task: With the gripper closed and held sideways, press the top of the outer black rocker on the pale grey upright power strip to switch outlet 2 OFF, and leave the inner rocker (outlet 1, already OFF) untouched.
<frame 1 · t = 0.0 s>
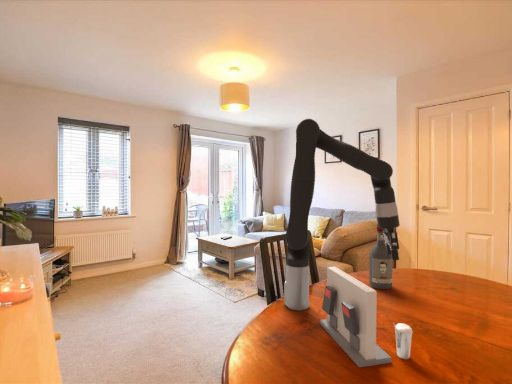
hand: (393, 257, 109), 22 cm above the table, tool pointing down, fingers open, 8 cm apart
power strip: (348, 341, 92), on the table
liquor: (380, 286, 141), on the table
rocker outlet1: (329, 300, 97), point 11 cm above the table, hinge at 10.0°
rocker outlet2: (349, 317, 85), point 11 cm above the table, hinge at -10.0°
milkshake: (401, 356, 84), on the table
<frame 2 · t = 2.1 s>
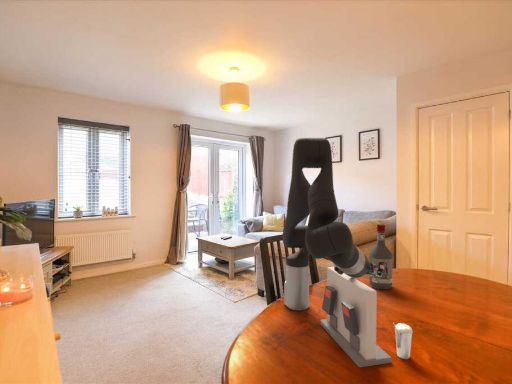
hand: (366, 275, 90), 22 cm above the table, tool tilted 60°, fingers open, 8 cm apart
nothing on the table moved.
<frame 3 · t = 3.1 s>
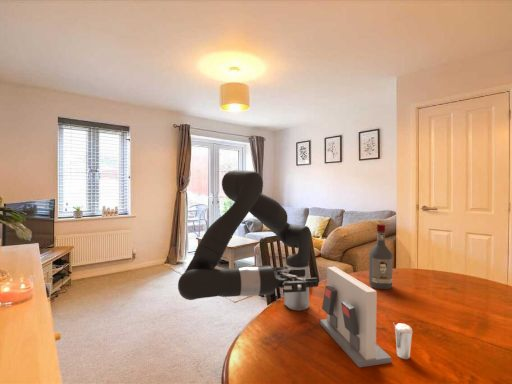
hand: (310, 276, 81), 24 cm above the table, tool horizontal, fingers open, 8 cm apart
nothing on the table moved.
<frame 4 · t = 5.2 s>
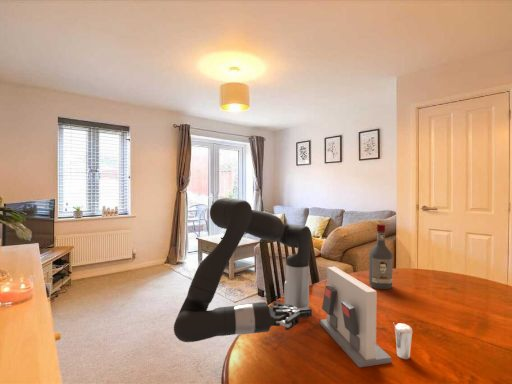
hand: (310, 311, 82), 14 cm above the table, tool horizontal, fingers closed
nothing on the table moved.
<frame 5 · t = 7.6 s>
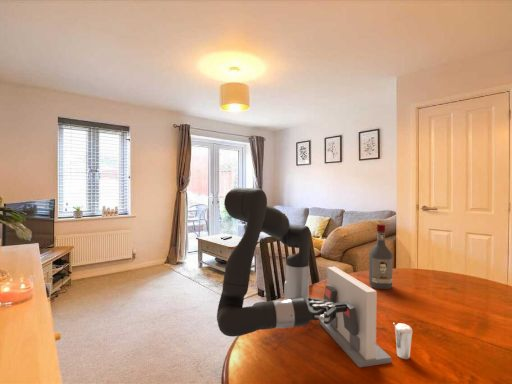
hand: (345, 306, 84), 14 cm above the table, tool horizontal, fingers closed
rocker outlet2: (349, 317, 85), point 11 cm above the table, hinge at -7.7°, touching gripper
everything else where it was.
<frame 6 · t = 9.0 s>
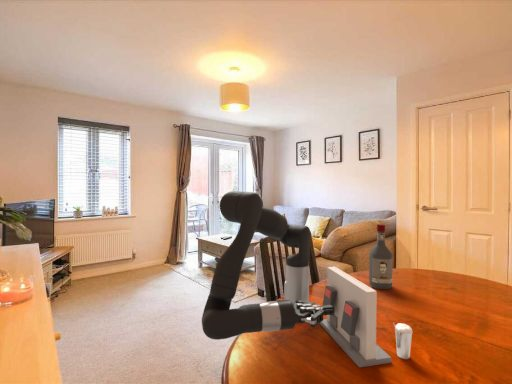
hand: (333, 309, 83), 14 cm above the table, tool horizontal, fingers closed
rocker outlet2: (349, 317, 85), point 11 cm above the table, hinge at 11.2°
everything else where it was.
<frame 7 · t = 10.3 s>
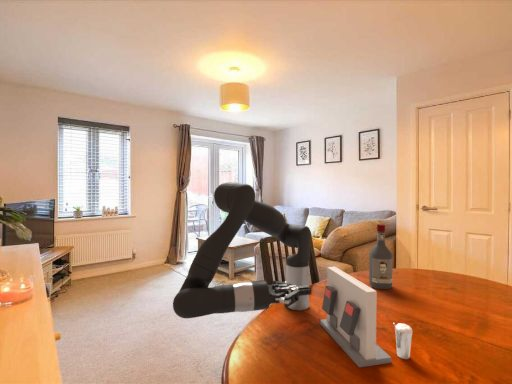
hand: (309, 289, 82), 20 cm above the table, tool horizontal, fingers closed
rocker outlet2: (349, 317, 85), point 11 cm above the table, hinge at 17.1°, touching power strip
everything else where it was.
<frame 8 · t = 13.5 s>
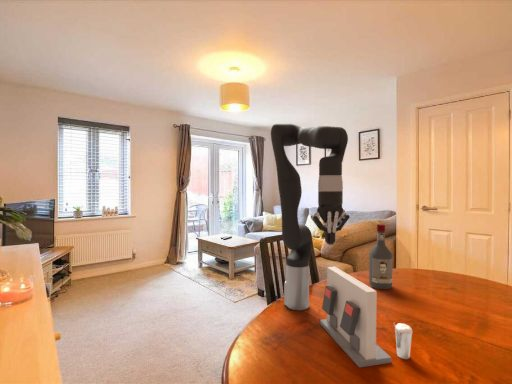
hand: (330, 244, 92), 31 cm above the table, tool pointing down, fingers closed
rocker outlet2: (349, 317, 85), point 11 cm above the table, hinge at 14.9°
everything else where it was.
at the end: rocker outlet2 at +15° (first picture: -10°); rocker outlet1 at +10° (first picture: +10°) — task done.
